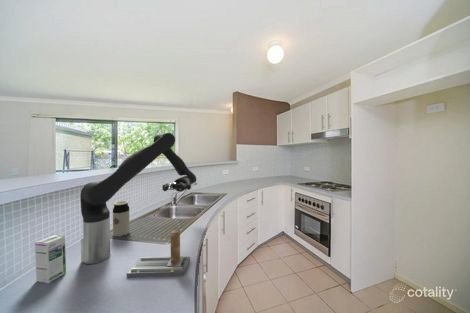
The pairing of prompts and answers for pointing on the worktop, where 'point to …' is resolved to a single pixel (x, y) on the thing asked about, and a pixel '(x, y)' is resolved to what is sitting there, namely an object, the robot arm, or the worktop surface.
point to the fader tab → (175, 250)
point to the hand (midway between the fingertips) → (173, 189)
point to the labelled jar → (121, 218)
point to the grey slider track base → (157, 267)
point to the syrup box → (50, 258)
